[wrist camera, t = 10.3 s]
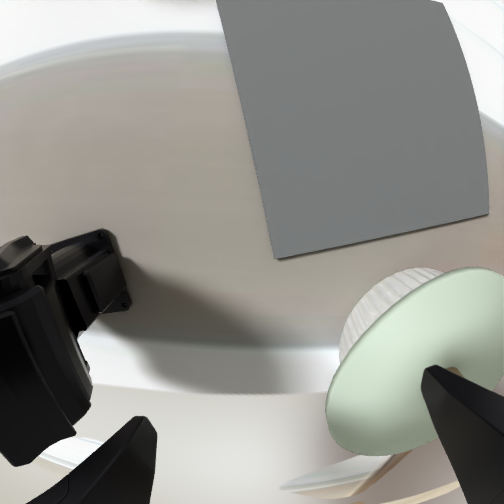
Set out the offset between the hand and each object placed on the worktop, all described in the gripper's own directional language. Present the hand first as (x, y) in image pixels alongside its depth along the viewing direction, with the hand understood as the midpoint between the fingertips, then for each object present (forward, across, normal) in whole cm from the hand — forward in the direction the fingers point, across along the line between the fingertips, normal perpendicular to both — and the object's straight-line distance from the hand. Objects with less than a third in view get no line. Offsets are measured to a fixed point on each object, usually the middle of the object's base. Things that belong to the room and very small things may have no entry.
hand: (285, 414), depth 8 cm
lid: (+6, -10, +8) cm, 14 cm away
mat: (+13, -10, -10) cm, 19 cm away
